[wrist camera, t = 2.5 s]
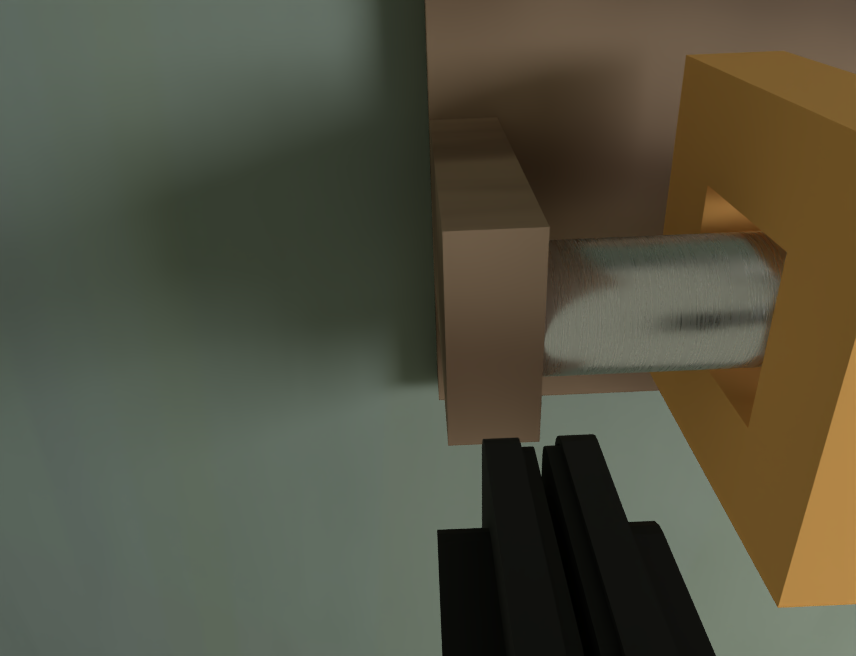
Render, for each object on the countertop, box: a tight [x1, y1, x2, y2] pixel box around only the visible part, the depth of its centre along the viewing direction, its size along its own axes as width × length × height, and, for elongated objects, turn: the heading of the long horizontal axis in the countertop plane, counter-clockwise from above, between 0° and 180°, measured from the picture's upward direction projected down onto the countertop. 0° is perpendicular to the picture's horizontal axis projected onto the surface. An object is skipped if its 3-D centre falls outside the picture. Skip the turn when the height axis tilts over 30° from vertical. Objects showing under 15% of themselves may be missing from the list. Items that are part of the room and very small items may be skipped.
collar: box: [649, 51, 856, 608], centre depth 16 cm, size 9×2×9 cm, turn 2°
